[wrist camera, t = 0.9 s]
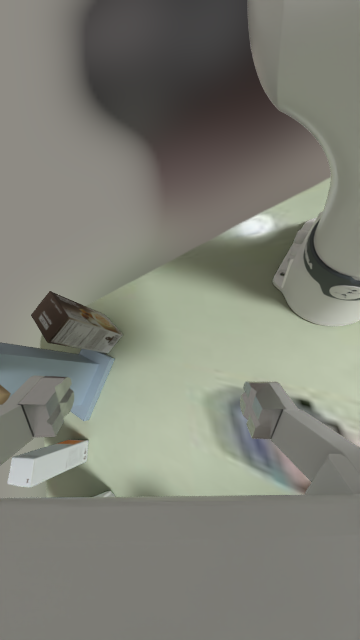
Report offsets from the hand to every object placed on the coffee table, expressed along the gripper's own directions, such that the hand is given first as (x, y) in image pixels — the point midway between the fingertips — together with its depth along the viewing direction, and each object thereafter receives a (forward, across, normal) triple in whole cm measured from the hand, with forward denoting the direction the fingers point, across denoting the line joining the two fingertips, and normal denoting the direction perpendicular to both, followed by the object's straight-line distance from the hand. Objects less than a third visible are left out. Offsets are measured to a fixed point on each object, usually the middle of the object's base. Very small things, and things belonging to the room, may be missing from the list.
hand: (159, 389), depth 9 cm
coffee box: (+38, +16, +18) cm, 45 cm away
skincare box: (+21, +19, +40) cm, 49 cm away
